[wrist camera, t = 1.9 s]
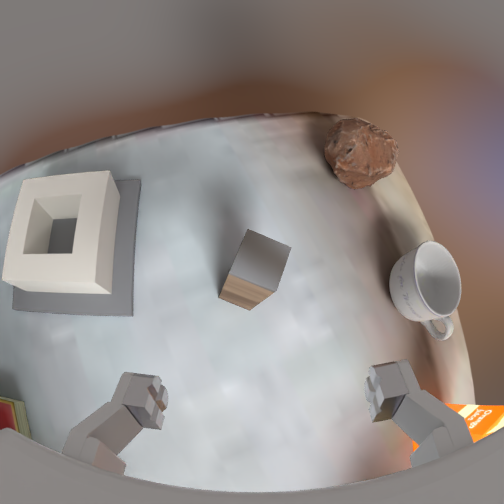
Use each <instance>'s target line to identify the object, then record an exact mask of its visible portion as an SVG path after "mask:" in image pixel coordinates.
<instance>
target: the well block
mask: <svg viewBox="0 0 504 504" xmlns="http://www.w3.org/2000/svg"><path fill="white" fill-rule="evenodd" d="M140 188H141V181H140V180H118V181H114V179H113V177H112V174H111V172H110V170H108V171H94V172H83V173H72V174H63V175H54V176H46V177H39V178H31V179H25V180H23V183H22V186H21V189H20V193H19V196H18V199H17V203H16V207H15V211H14V215H13V219H12V223H11V227H10V232H9V237H8V242H7V247H6V253H5V259H4V266H3V274H2V280H3V281H5V282H7V283H9V284H12V285H14V292H13V307H12V309H14V310H19V311H30V312H42V313H56V314H73V315H94V316H131V317H133V281H134V256H135V240H136V227H137V216H138V206H139V197H140Z"/></svg>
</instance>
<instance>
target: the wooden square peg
mask: <svg viewBox="0 0 504 504" xmlns="http://www.w3.org/2000/svg"><path fill="white" fill-rule="evenodd" d="M290 250H291V247H289V246H287V245H284V244H282V243H280V242H277V241H275V240H273V239H270V238H268V237H266V236H263V235H261V234H259V233H256V232H254V231H252V230H249V229H247V232H246V234H245V236H244V239H243V241H242V243H241V246H240V248H239V250H238V253H237V255H236V257H235V260H234V262H233V264H232V267H231V269H230V271H229V274H228V276H227V279H226V281H225V283H224V286H223V288H222V291H221V293H220V295H219V298H221V299H223V300H225V301H228V302H230V303H233V304H235V305H237V306H240V307H242V308H245V309H247V310H251V309H252V308H254V307H255V306H256V305H258V304H259V303H261V302H262V301H263V300H265V299H266V298H267V297H269V296H270V295H271V294H273V293H274V292H275V291H277V288H278V285H279V282H280V279H281V276H282V273H283V271H284V268H285V265H286V262H287V259H288V256H289V253H290Z"/></svg>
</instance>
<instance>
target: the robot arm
mask: <svg viewBox="0 0 504 504" xmlns="http://www.w3.org/2000/svg"><path fill="white" fill-rule="evenodd" d="M368 372H369V375H370V376H369V377H367V378H366V381H365V396H366V400H367V401H368V402H370V403H371V405H370V408H369V411H370V415H371V419H372V423H373V422H378V421H383V420H388V419H392V420H393V421H394V422H395V423H396V424H397V425H398V426H399V427H400V428H401V429H402V430H403V431H404V432H405V433H406V434H407V435H408V436H409V437H410V438H411V439H412V440H413V441H414V442H415V443H416V444H418V445H419V447H418V448H417V449H416V450H415V451H414V452H413V453H412V454H411V455H410V461H411V465H412V468H410V469H407V470H403V471H400V472H397V473H393V474H390V475H386V476H382V477H378V478H374V479H370V480H365V481H361V482H356V483H351V484H345V485H340V486H333V487H326V488H319V489H310V490H300V491H286V492H226V491H212V490H202V489H193V488H185V487H179V486H172V485H166V484H161V483H156V482H151V481H146V480H142V479H138V478H133V477H130V476H126V475H124V471H125V467H126V464H125V462H124V461H123V460H121V459H120V458H119V457H118V456H117V455H118V454H119V453H120V452H121V451H122V450H123V449H124V448H125V447H126V446H127V445H128V443H129V442H130V441H131V440H132V439H133V438H134V437H135V436H136V435H137V434H138V433H139V432H140V431H141V430H142V429H143V428H151V429H159V430H161V428H162V424H163V420H164V415H163V413H162V412H163V411H164V410H165V409H166V408H167V405H168V393H167V390H166V388H165V387H164V386H163V385H161V382H162V380H161V379H160V377H159V376H155V375H146V374H137V373H129V372H124V373H123V374H122V376H121V378H120V380H119V383H118V385H117V388H116V390H115V392H114V395H113V397H112V400H111V402H107V403H106V404H104V405H103V406H102V407H100V408H99V409H98V410H96V411H95V412H94V413H92V414H91V415H90V416H89V417H87V418H86V419H85V420H83V421H82V422H81V423H79V424H78V425H77V426H75V427H74V428H73V429H71V431H70V433H69V436H68V438H67V441H66V443H65V446H64V448H63V451H62V453H59V452H57V451H54V450H52V449H50V448H48V447H46V446H44V445H41V444H39V443H37V442H35V441H33V440H31V439H29V438H27V437H26V436H24V435H22V434H20V433H18V432H17V431H15V430H13V429H11V428H4V429H2V430H0V504H504V426H503V427H502V428H500V429H498V430H496V431H495V432H493V433H491V434H489V435H487V436H486V437H484V438H482V439H480V440H478V441H476V442H473V439H472V436H471V434H470V431H469V429H468V426H467V424H466V421H465V419H464V417H463V416H461V415H460V414H459V413H457V412H456V411H454V410H453V409H451V408H450V407H448V406H447V405H446V404H444V403H443V402H441V401H440V400H438V399H437V398H436V397H434V396H433V395H431V394H430V393H428V392H427V391H426V390H421V389H420V386H419V384H418V382H417V379H416V377H415V375H414V372H413V370H412V368H411V366H410V363H409V361H408V360H407V359H404V360H400V361H395V362H394V361H393V362H388V363H384V364H378V365H373V366H371V367H370V368H369V371H368ZM142 427H143V428H142Z"/></svg>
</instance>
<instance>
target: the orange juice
mask: <svg viewBox="0 0 504 504" xmlns="http://www.w3.org/2000/svg"><path fill="white" fill-rule="evenodd" d="M446 405H447V406H448V407H450V408H451V409H453V410H454V411H456V412H457V413H459V414H460V415H461V416H463V417H464V419H465V421H466V424H467V426H468V429H469V431H470V434H471V436H472V439H473V442H476V441H478V440H480V439H482V438H484V437H486V436H487V435H489V434H491V433H493V432H495V431H496V430H498V429H500V428H502V427H503V426H504V406H479V405H457V404H446ZM418 447H419V445H418V444H416V443H415V442H414V441H413V452H414V451H415V450H416V449H417V448H418Z"/></svg>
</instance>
